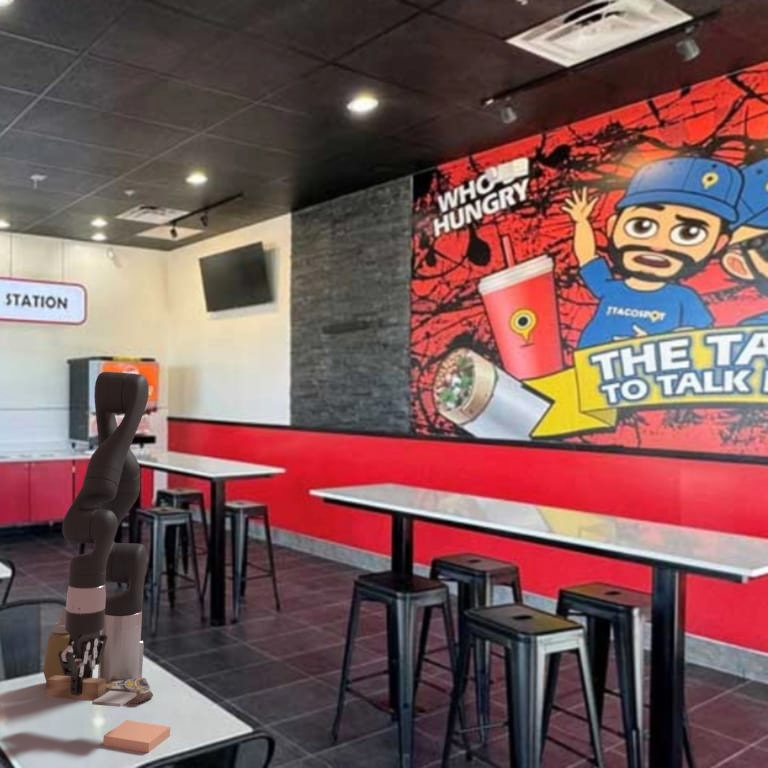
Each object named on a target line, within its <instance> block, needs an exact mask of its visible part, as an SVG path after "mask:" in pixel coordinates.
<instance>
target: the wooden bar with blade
mask: <svg viewBox="0 0 768 768" xmlns="http://www.w3.org/2000/svg"><path fill="white" fill-rule="evenodd" d="M45 684H46V685H45V690H46V691H45V692H46V693H45V697H46V698H53V699H63V700H64V699H66V700H75V701H89V702H91V705H94V706H95V705H96V706H106V707H119V708H120V707H122V706H124V705H125V704H127V702H128V701H129V700H131V699H132V698H134V697H135V696H137V693H133V692H120V691H108V692H107V693H106V679H101V678H98V677H92V678H85V677H83V685H82V694H81V695H79V696H77V695H72V694H71V691H70V688H71V676H60V675H54V676H52V677H50V678H48V679H45Z"/></svg>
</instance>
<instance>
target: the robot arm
mask: <svg viewBox="0 0 768 768" xmlns="http://www.w3.org/2000/svg"><path fill="white" fill-rule="evenodd" d="M149 387H150V386H149V382H148V378H146V376H145V375H143V374H140V373H130V372H119V371H117V372H116V371H103V372H101V373H100V372H99V374H98V376H96V380H95V384H94V396H93V397H94V408H95V418H96V419H95V420H96V429H97V444H98V445H97V446H98V447H97V448H96V449H95V450H94V452H93V454H92V455H91V457H90V459H89V460H88V464H87V468H86V471H85V475H84V477H83V478H84V479H83V482H82V486H81V488H80V490H79V491H78V493H77V495H76V497H75V499H74V500H73V502H72V503H71V505H70V507H69V508H68V510H67V512H66V514H65V516H64V518H63V521H62V524H61V525H62V526H61V531H62V535H63V537H64V539H65V540H66V541H67V542H69V543H73V544H90V545H94V547H93V550H92V552H87V553H82V554H76V555H75V556H73V557H72V558H71V560H70V563H69V573H68V574H69V575H68V587H67V593H66V605H65V608H66V619H65V630H66V631H67V632H68V633H69V635H70V637H69V641H68V647H67V648H66V650H65V651H60V652H59V653H58V657H59V660H60V664H61V667H62V670H63V674H64V675H65V676H71V688H70V691H71V694H72V695H77V696H79V695H81V694H82V685H83V677H85V678H93V677H94V676H93V673H94V672H93V671H94V670H95V669H96V665H97V666H98V668H97V678H101V679H106V682H109V681H115V680H125V679H134V678H143V665H144V663H143V662H144V646H145V645H144V643H145V642H144V640H141V639H142V636H141V635H142V621H143V617H142V616H143V605H144V604H143V602H144V601H143V600H144V588H145V587H144V586H145V578H146V577H145V576H146V569H147V554H148V553H147V549H146V546H145V545H144V544H142V543H128V542H126V543H124V542H115V537H116V535H117V532H118V527H119V526H120V524H121V523H122V520H123V519H124V518H125V516H126V515H127V514H128V512H129V511H130V510H131V508H132V507H133V506H134V504H135V503H136V501H137V500H138V497H139V496H140V490H141V487H140V486H141V470H140V469H141V468H140V463H139V462H138V459H137V458H136V456H135V454H134V452H133V451H132V449H131V445H132V443H133V441H134V438H135V436H136V433H137V431H138V429H139V426H140V423H141V421H142V419H143V416H144V413H145V410H146V408H147V404H148V400H149V393H150V390H149V389H150V388H149ZM116 414H123V415H124V416H123V418H122V420H121V422H120V423H119V425H118V423H117V419H116ZM96 505H98V508H94V507H95V506H96ZM106 583H113V584H115V583H117V584H119V583H121V584H128V588H126V589H125V590H123V591H122V592H119V593H115V594H112V595H109V596H107V591H106V590H107V589H106ZM75 658H78V659H80V660H77V659H75ZM76 665H78V666H79V668H78V670H77V667H76ZM69 669H70V670H69Z"/></svg>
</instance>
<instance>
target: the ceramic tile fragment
mask: <svg viewBox="0 0 768 768" xmlns="http://www.w3.org/2000/svg"><path fill="white" fill-rule="evenodd" d="M108 691H120V692H133V693H137V696H135V697H134V698H132V699H131V700H129V701H128V702H126V704H129V703H134V704H133V705H136V704H135V703H137V704H139V702H140V703H142V701H143V702H145V701H147V699H148V700H150V699H152V698H153V697H154V694H153V692H152V690H151V686H150V684H149V683H148V680H147V678H145V677H142V678H134V679H125V680H115V681H109V682H106V693H107V692H108ZM144 700H145V701H144Z"/></svg>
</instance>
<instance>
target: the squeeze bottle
mask: <svg viewBox="0 0 768 768" xmlns="http://www.w3.org/2000/svg"><path fill="white" fill-rule="evenodd" d="M65 619H66V607H63V608H62V610H61V614H60V617H59V621H58V622H55V623H54V624H53V632H52V633H51V634H49V635H48V640H47V646H46V653H45V658H44V663H43V664H44V665H43V671H42V672H43V675H44V679H45V680H46V679H48V678H50V677H52V676H54V675H60V676H65V675H64V674H63V670H62V667H61V664H60V660H59V657H58V653H59V652H60V651H65V650H66V648H67V647H68V641H69V637H70V635H69V633H68V632H67V631H66V630H65ZM75 659H77V660H81V659H78V658H75ZM76 667H77V670H78V668H79V666H78V665H76ZM69 670H70V669H69Z"/></svg>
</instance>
